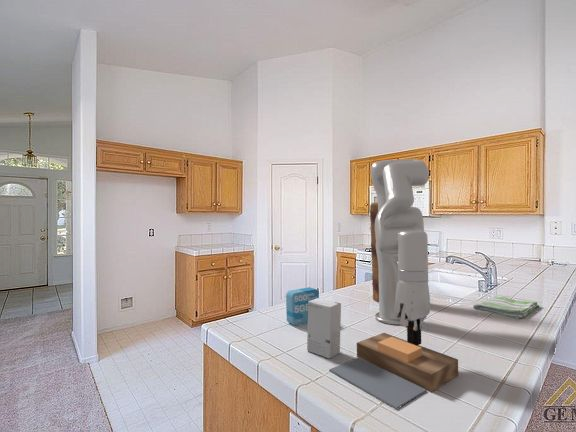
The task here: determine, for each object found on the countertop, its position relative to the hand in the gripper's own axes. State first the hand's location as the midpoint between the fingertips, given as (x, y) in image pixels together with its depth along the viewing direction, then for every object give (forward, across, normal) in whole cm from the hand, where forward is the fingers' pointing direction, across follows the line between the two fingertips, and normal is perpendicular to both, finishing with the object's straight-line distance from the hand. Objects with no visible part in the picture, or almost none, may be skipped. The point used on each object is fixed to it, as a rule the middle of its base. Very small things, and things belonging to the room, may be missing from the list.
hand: (414, 343), depth 85 cm
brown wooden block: (+5, +4, 0) cm, 7 cm away
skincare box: (+5, +15, -19) cm, 25 cm away
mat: (+5, +16, 0) cm, 17 cm away
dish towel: (+5, -71, -3) cm, 71 cm away
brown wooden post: (+5, -43, -43) cm, 61 cm away
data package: (+5, +4, -43) cm, 44 cm away
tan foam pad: (+1, +6, 0) cm, 7 cm away
